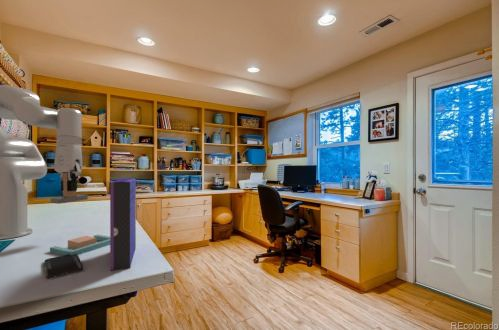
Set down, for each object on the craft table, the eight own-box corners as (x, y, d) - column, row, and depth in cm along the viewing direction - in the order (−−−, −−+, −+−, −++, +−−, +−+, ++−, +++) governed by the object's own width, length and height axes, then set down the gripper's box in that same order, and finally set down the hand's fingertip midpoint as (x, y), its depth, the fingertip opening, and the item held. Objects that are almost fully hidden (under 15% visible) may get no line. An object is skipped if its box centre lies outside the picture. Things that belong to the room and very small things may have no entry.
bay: (49, 252, 79) (49, 247, 79) (97, 238, 93) (97, 234, 93) (71, 257, 74) (71, 252, 74) (117, 241, 89) (117, 237, 89)
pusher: (58, 203, 85) (57, 173, 85) (50, 202, 88) (50, 173, 87) (87, 199, 95) (87, 172, 94) (79, 198, 97) (79, 172, 96)
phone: (76, 253, 76) (83, 268, 65) (76, 256, 76) (83, 272, 65) (43, 259, 71) (45, 276, 60) (43, 263, 71) (45, 281, 60)
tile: (67, 249, 82) (67, 240, 82) (85, 243, 88) (85, 235, 88) (78, 251, 80) (78, 242, 80) (96, 246, 85) (96, 237, 85)
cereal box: (120, 249, 81) (120, 178, 81) (135, 247, 83) (135, 178, 83) (110, 270, 65) (110, 181, 65) (129, 268, 67) (130, 181, 67)
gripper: (45, 141, 91) (45, 190, 91) (71, 140, 84) (71, 193, 84) (67, 143, 98) (67, 188, 98) (93, 142, 91) (92, 190, 91)
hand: (69, 190), depth 91 cm, fingers closed on pusher, 3 cm apart
